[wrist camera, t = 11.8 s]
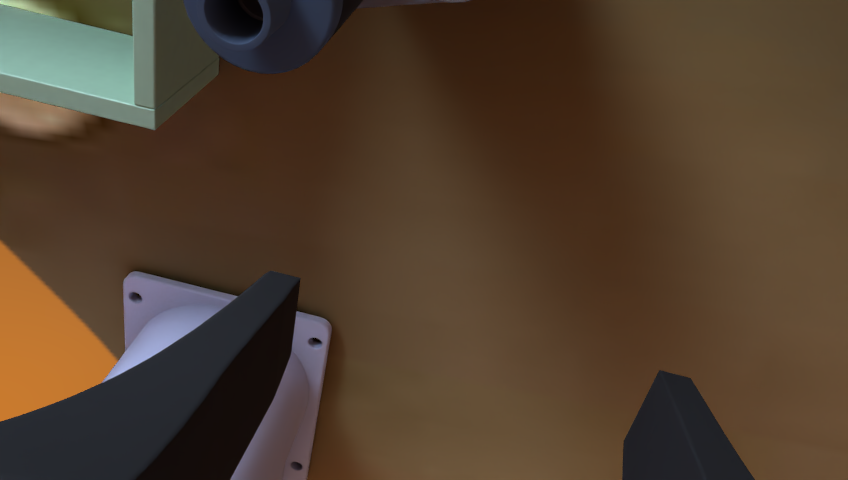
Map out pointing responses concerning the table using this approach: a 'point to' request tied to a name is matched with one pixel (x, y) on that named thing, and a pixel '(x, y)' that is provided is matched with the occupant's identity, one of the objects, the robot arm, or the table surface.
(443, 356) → the table surface
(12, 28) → the storage box
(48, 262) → the table surface
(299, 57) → the vaping device
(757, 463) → the table surface
